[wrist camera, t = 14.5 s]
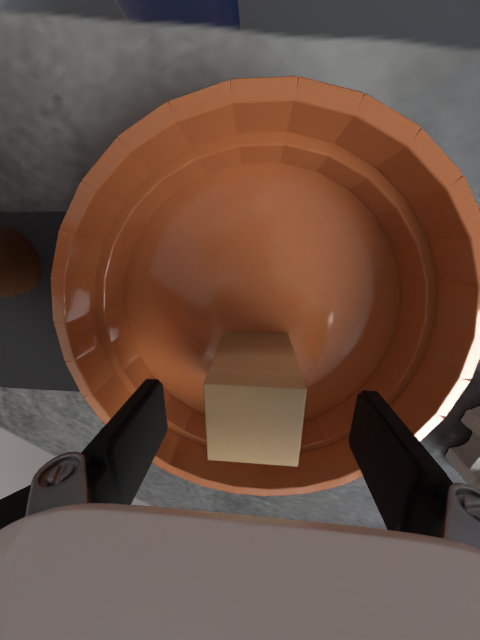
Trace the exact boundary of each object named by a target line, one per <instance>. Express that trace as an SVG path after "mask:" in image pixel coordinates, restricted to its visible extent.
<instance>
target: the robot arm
mask: <svg viewBox="0 0 480 640" xmlns="http://www.w3.org/2000/svg"><path fill="white" fill-rule="evenodd" d="M167 429H168V424H167V416H166V407H165V399H164V390H163V384H162V383H161V382H160V381H159V380H158V379H146V380H145V381H144V382H143V383H142V384H141V385H140V386H139V387H138V389H137V390H136V391H135V392H134V393H133V394H132V395H131V397H130V398H129V399H128V400H127V401H126V402H125V403H124V405H123V406H122V407H121V408H120V409H119V410H118V411H117V413H116V414H115V415H114V416H113V417H112V418H111V419H110V421H109V422H108V423H107V424H106V425H105V426H104V427H103V428H102V430H101V431H100V432H99V433H98V434H97V435H96V436H95V438H94V439H93V440H92V441H91V442H90V443H89V444H88V446H87V447H86V448H85V449H84V450H83V451H82V453H80V452H68V453H65V454H62V455H59V456H57V457H55V458H53V459H52V460H50V461H49V462H47V463H46V464H44V466H42V467H41V468H40V469H39V470H38V471H37V473H36V474H35V475H34V477H33V480H32V482H31V485H29V486H27V487H26V488H23V489H21V490H19V491H17V492H15V493H13V494H11V495H9V496H7V497H5V498H3V499H0V640H480V489H478V488H476V487H474V486H471V485H468V484H464V483H454V484H453V482H452V481H451V480H450V479H449V477H448V476H447V474H446V473H445V472H444V470H443V469H442V468H441V467H440V466H439V464H438V463H437V462H436V461H435V460H434V458H433V457H432V456H431V455H430V454H429V452H428V451H427V450H426V449H425V448H424V446H423V445H422V444H421V443H420V442H419V440H418V439H417V438H416V437H415V436H414V434H413V433H412V432H411V431H410V430H409V428H408V427H407V426H406V425H405V424H404V422H403V421H402V420H401V419H400V418H399V417H398V415H397V414H396V413H395V412H394V411H393V409H392V408H391V407H390V406H389V405H388V403H387V402H386V401H385V400H384V399H383V397H382V396H381V395H380V394H379V393H378V392H377V391H370V390H363V391H362V392H361V393H358V395H357V399H356V404H355V409H354V414H353V419H352V424H351V429H350V434H349V446H350V449H351V451H352V453H353V455H354V457H355V460H356V462H357V464H358V466H359V468H360V470H361V473H362V475H363V477H364V479H365V481H366V483H367V486H368V488H369V490H370V492H371V494H372V497H373V499H374V501H375V503H376V505H377V507H378V510H379V512H380V514H381V516H382V518H383V520H384V523H385V525H386V527H387V529H388V530H383V529H375V528H366V527H357V526H347V525H338V524H328V523H318V522H309V521H299V520H289V519H279V518H269V517H259V516H249V515H239V514H228V513H218V512H208V511H197V510H186V509H175V508H164V507H153V506H140V505H131V503H132V501H133V499H134V497H135V495H136V493H137V491H138V489H139V487H140V485H141V483H142V481H143V479H144V477H145V475H146V473H147V471H148V469H149V467H150V465H151V463H152V461H153V459H154V457H155V455H156V453H157V451H158V449H159V447H160V445H161V443H162V441H163V439H164V437H165V435H166V433H167Z"/></svg>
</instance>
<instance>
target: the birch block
mask: <svg viewBox="0 0 480 640" xmlns="http://www.w3.org/2000/svg"><path fill="white" fill-rule="evenodd" d="M203 392H204V410H205V427H206V445H207V459H208V460H216V461H229V462H242V463H255V464H269V465H282V466H295V467H297V466H298V462H299V454H300V446H301V438H302V429H303V421H304V413H305V404H306V396H307V387H306V384H305V381H304V378H303V375H302V373H301V370H300V367H299V364H298V361H297V358H296V355H295V352H294V349H293V346H292V343H291V340H290V337H289V335H288V334H272V333H242V332H224V333H223V335H222V338H221V340H220V343H219V345H218V348H217V350H216V353H215V355H214V358H213V360H212V363H211V365H210V368H209V370H208V373H207V375H206V378H205V381H204V383H203Z"/></svg>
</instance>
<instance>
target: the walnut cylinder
mask: <svg viewBox="0 0 480 640" xmlns="http://www.w3.org/2000/svg"><path fill="white" fill-rule="evenodd" d="M41 277H42V265H41V261H40V258H39V256H38V254H37V252H36V250H35V248H34V247H33V246H32V244H31V243H30V242H29V241H28V240H27V239H26V238H25V237H24V236H23V235H21V234H20V233H18V232H17V231H15V230H13V229H10V228H8V227H3V226H0V299H2V298H7V297H11V296H16V295H21V294H26V293H29V292H31V291H33V290H34V289H35V288H37V286H38V285H39V283H40V281H41Z"/></svg>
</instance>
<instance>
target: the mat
mask: <svg viewBox="0 0 480 640" xmlns="http://www.w3.org/2000/svg"><path fill="white" fill-rule="evenodd" d="M66 213H67V212H0V226H3V227H8V228H10V229H13V230H15V231H17V232H18V233H20V234H21V235H23V236H24V237H25V238H26V239H27V240H28V241H29V242H30V243H31V244H32V246H33V247H34V248H35V250H36V252H37V254H38V256H39V258H40V261H41V265H42V277H41V281H40V283H39V285H38V286H37V288H35V289H34V290H33V291H31V292H29V293H26V294H21V295H16V296H11V297H7V298H2V299H0V387H7V388H25V389H43V390H61V391H79V392H80V390H79V388H78V387H77V385H76V383H75V381H74V379H73V377H72V375H71V373H70V371H69V369H68V367H67V365H66V363H65V361H64V358H63V354H62V351H61V347H60V344H59V340H58V336H57V333H56V329H55V326H54V321H53V312H52V295H51V271H52V265H53V260H54V254H55V249H56V243H57V237H58V232H59V229H60V226H61V224H62V221H63V219H64V217H65V215H66Z"/></svg>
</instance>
